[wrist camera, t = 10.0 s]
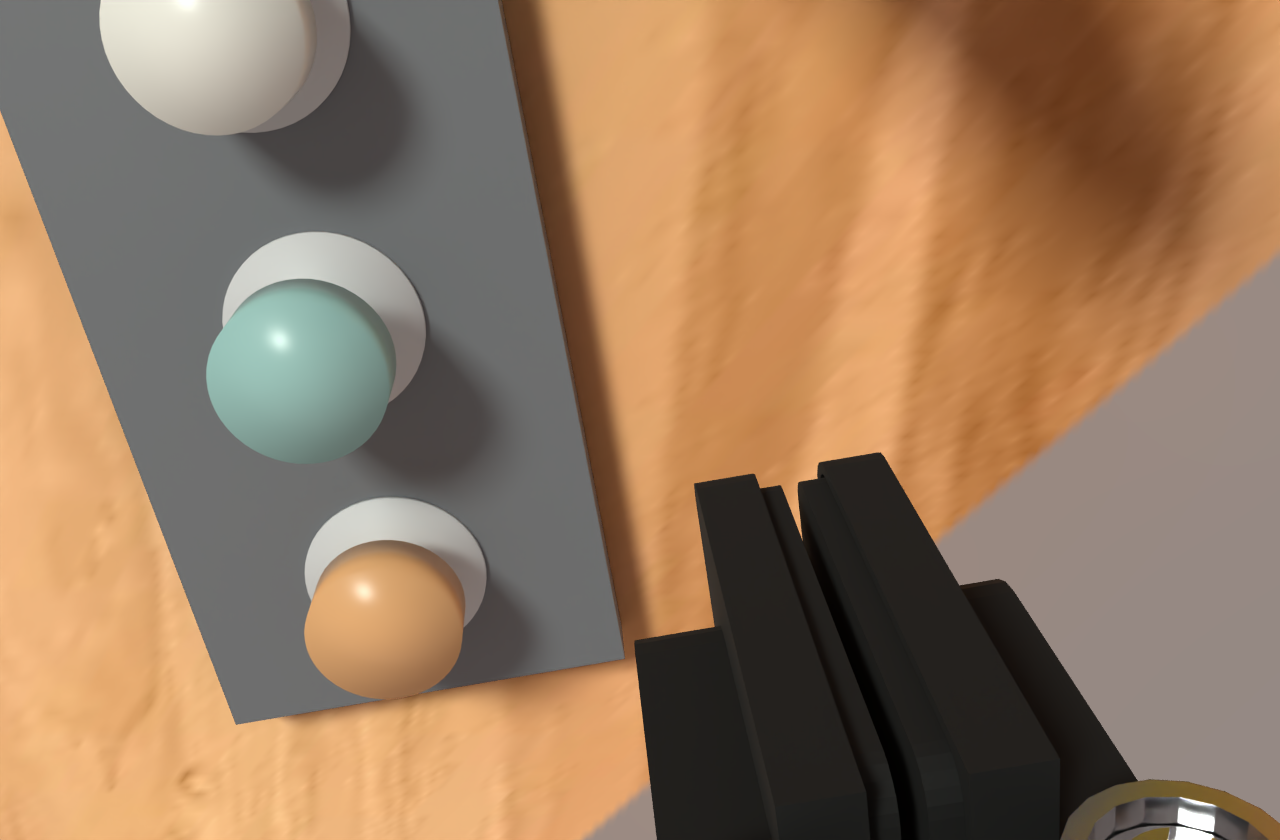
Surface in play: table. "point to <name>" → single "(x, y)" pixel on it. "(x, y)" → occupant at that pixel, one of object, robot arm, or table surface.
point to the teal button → (302, 371)
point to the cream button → (210, 58)
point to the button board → (365, 265)
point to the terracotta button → (386, 620)
